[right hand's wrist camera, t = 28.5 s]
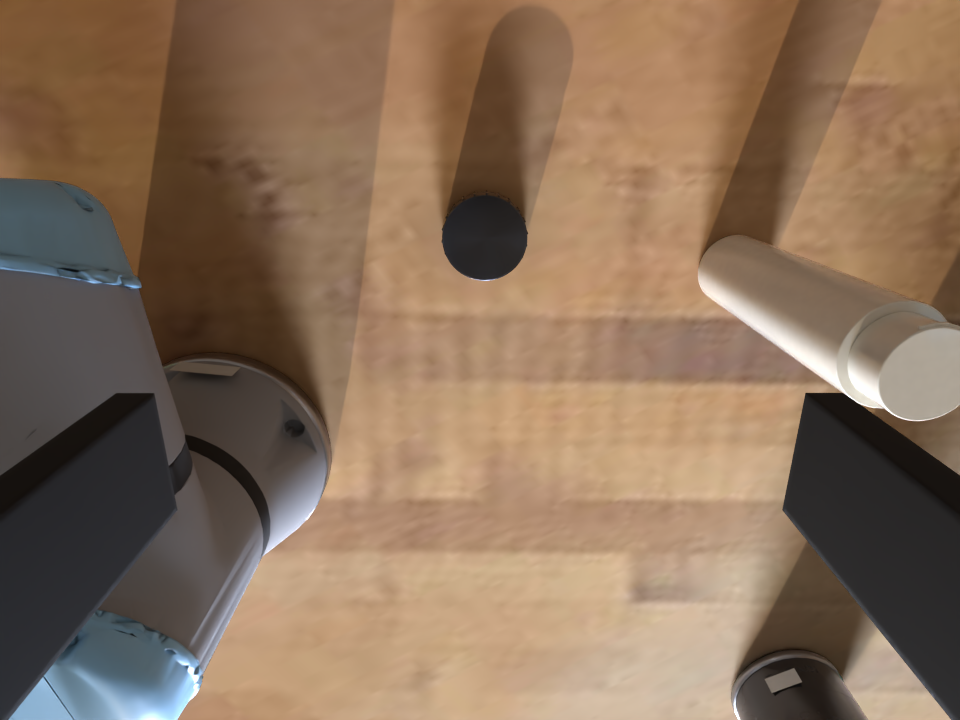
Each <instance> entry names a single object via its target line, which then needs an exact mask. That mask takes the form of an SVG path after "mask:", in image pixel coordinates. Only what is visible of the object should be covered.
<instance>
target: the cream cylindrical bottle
mask: <svg viewBox="0 0 960 720" xmlns="http://www.w3.org/2000/svg"><path fill="white" fill-rule="evenodd" d="M698 280H699V284H700V287H701V289H702V291H703V292H704V293H705V294H706V295H707V296H708V297H709V298H710V299H712V300H713V301H714V302H716V303H717V304H719V305H720V306H721V307H723V308H724V309H726V310H727V311H728V312H730V313H731V314H733V315H734V316H735V317H737V318H738V319H740V320H741V321H742V322H744V323H745V324H747V325H748V326H749V327H751V328H752V329H754V330H755V331H756V332H758V333H759V334H761V335H762V336H763V337H765V338H766V339H768V340H769V341H770V342H772V343H773V344H775V345H776V346H777V347H779V348H780V349H782V350H783V351H785V352H786V353H787V354H789V355H790V356H792V357H793V358H794V359H796V360H797V361H799V362H800V363H801V364H803V365H804V366H806V367H807V368H808V369H810V370H811V371H813V372H814V373H815V374H817V375H818V376H820V377H821V378H822V379H824V380H825V381H827V382H828V383H829V384H831V385H832V386H834V387H835V388H836V389H838V390H839V391H841V392H842V393H844V394H846V395H847V396H849V397H850V398H851V399H853V400H854V401H856V402H857V403H859V404H861V405H864V406H867V407H872V408H884V409H885V410H887V411H888V412H889V413H891V414H892V415H894V416H896V417H898V418H901V419H905V420H910V421H924V420H930V419H934V418H937V417H940V416H942V415H945V414H947V413H949V412H950V411H952V410H953V409H955V408H956V407H958V406H959V405H960V326H959V325H955V324H952V323H949V322H947V320H946V319H945V317H944V316H943V315H942V314H941V313H940V312H939V311H938V310H937V309H935V308H934V307H932V306H930V305H928V304H925V303H922V302H920V301H917V300H915V299H912V298H909V297H907V296H904V295H901V294H899V293H896V292H893V291H891V290H888V289H886V288H883V287H880V286H878V285H875V284H872V283H870V282H867V281H865V280H862V279H859V278H857V277H854V276H851V275H849V274H846V273H843V272H841V271H838V270H836V269H833V268H830V267H828V266H825V265H822V264H820V263H817V262H814V261H812V260H809V259H807V258H804V257H801V256H799V255H796V254H793V253H791V252H788V251H786V250H783V249H780V248H778V247H775V246H772V245H770V244H767V243H764V242H762V241H759V240H757V239H754V238H751V237H749V236H745V235H732V236H727V237H724V238H722V239H720V240H718V241H717V242H715V243H714V244H713V245H711V246H710V247H709V248H708V250H707V251H706V252H705V254H704V255H703V257H702V259H701V261H700V264H699V268H698Z"/></svg>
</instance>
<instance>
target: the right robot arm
mask: <svg viewBox="0 0 960 720" xmlns="http://www.w3.org/2000/svg"><path fill="white" fill-rule="evenodd" d="M139 288H142V287H141V282H140V280H139V278H138V277H137V276H135V275H133V272H132V270H131V267H130V265H129V262H128V260H127V257H126V255H125V252H124V250H123V247H122V245H121V242H120V240H119V237H118V235H117V232H116V229H115V227H114V224H113V221H112V219H111V216H110V215H109V213H108V211H107V210H106V208H105V207H104V205H103V204H102V203H101V202H100V201H99V200H98V199H97V198H95V197H94V196H93V195H91V194H90V193H88V192H87V191H85V190H83V189H81V188H79V187H77V186H74V185H71V184H67V183H63V182H57V181H49V180H33V179H11V178H0V720H177V719H178V717H179V715H180V714H181V712H182V711H183V709H184V708H185V706H186V704H187V703H188V701H189V700H191V699H192V698H193V697H194V696H195V695H196V694H197V692H198V690H199V688H200V686H201V683H202V679H203V676H202V675H203V673H204V671H205V669H206V667H207V665H208V663H209V661H210V659H211V657H212V655H213V653H214V651H215V649H216V647H217V645H218V643H219V641H220V639H221V637H222V635H223V633H224V631H225V629H226V627H227V625H228V623H229V621H230V619H231V617H232V615H233V613H234V611H235V609H236V607H237V605H238V604H239V602H240V600H241V598H242V596H243V594H244V592H245V590H246V588H247V586H248V584H249V582H250V580H251V578H252V576H253V574H254V572H255V570H256V568H257V566H258V564H259V562H260V560H261V558H262V556H264V555H265V554H266V553H267V552H269V551H270V550H271V549H272V548H274V547H275V546H276V545H278V544H279V543H280V542H281V541H283V540H284V539H285V538H286V537H288V536H289V535H290V534H292V533H293V532H294V531H295V530H297V529H298V528H299V527H300V526H301V525H302V524H303V523H304V522H305V520H306V519H307V518H308V517H309V516H310V515H311V513H312V512H313V511H314V509H315V508H316V506H317V504H318V502H319V500H320V498H321V496H322V494H323V491H324V489H325V487H326V484H327V481H328V478H329V474H330V470H331V445H330V440H329V435H328V432H327V429H326V426H325V424H324V421H323V419H322V417H321V415H320V413H319V412H318V410H317V408H316V407H315V405H314V404H313V403H312V401H311V400H310V399H309V397H308V396H307V395H306V394H305V393H304V392H303V391H302V390H301V389H300V388H299V387H298V386H297V385H296V384H295V383H294V382H292V381H291V380H290V379H289V378H287V377H286V376H284V375H283V374H281V373H280V372H278V371H277V370H275V369H273V368H271V367H270V366H268V365H265V364H263V363H261V362H259V361H256V360H253V359H250V358H247V357H243V356H239V355H233V354H227V353H200V354H193V355H188V356H184V357H181V358H178V359H175V360H173V361H170V362H168V363H166V364H164V365H163V366H162V363H161V360H160V357H159V354H158V351H157V348H156V344H155V341H154V338H153V335H152V331H151V328H150V325H149V321H148V318H147V315H146V311H145V308H144V305H143V302H142V298H141V295H140V292H139ZM783 511H784V512H785V514H786V515H787V516H788V517H789V519H790V520H791V521H792V522H793V524H794V525H795V526H796V527H797V529H798V530H799V531H800V532H801V534H802V535H803V536H804V537H805V539H806V540H807V541H808V542H809V544H810V545H811V546H812V547H813V548H814V550H815V551H816V552H817V553H818V555H819V556H820V557H821V558H822V560H823V561H824V562H825V563H826V565H827V566H828V567H829V568H830V570H831V571H832V572H833V573H834V575H835V576H836V577H837V578H838V580H839V581H840V582H841V583H842V584H843V586H844V587H845V588H846V589H847V591H848V592H849V593H850V594H851V596H852V597H853V598H854V599H855V601H856V602H857V603H858V604H859V606H860V607H861V608H862V609H863V611H864V612H865V613H866V614H867V616H868V617H869V618H870V619H871V620H872V622H873V623H874V624H875V625H876V627H877V628H878V629H879V630H880V632H881V633H882V634H883V635H884V637H885V638H886V639H887V640H888V642H889V643H890V644H891V645H892V647H893V648H894V649H895V650H896V652H897V653H898V654H899V655H900V656H901V658H902V659H903V660H904V661H905V663H906V664H907V665H908V666H909V668H910V669H911V670H912V671H913V673H914V674H915V675H916V676H917V678H918V679H919V680H920V681H921V683H922V684H923V685H924V686H925V688H926V689H927V690H928V691H929V692H930V694H931V695H932V696H933V697H934V699H935V700H936V701H937V702H938V704H939V705H940V706H941V707H942V709H943V710H944V711H945V712H946V714H947V715H948V716H949V717H950V719H951V720H960V475H958V474H957V473H955V472H954V471H953V470H951V469H950V468H948V467H947V466H946V465H944V464H943V463H941V462H940V461H939V460H937V459H936V458H934V457H933V456H932V455H930V454H929V453H927V452H926V451H925V450H923V449H922V448H920V447H919V446H917V445H916V444H915V443H913V442H912V441H910V440H909V439H908V438H906V437H905V436H903V435H902V434H901V433H899V432H898V431H896V430H895V429H894V428H892V427H891V426H889V425H888V424H887V423H885V422H884V421H882V420H881V419H879V418H878V417H877V416H875V415H874V414H872V413H871V412H870V411H868V410H867V409H865V408H864V407H863V406H861V405H860V404H858V403H857V402H856V401H854V400H853V399H851V398H850V397H849V396H847V395H846V394H844V393H806V394H805V399H804V404H803V409H802V414H801V419H800V424H799V429H798V434H797V439H796V444H795V449H794V454H793V459H792V465H791V470H790V475H789V480H788V485H787V490H786V495H785V500H784V505H783Z"/></svg>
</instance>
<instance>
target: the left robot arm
mask: <svg viewBox="0 0 960 720" xmlns="http://www.w3.org/2000/svg"><path fill="white" fill-rule="evenodd" d="M731 702H732V706H733V709H734V711H735V713H736V716H737V718H738V719H739V720H868V719H867V717H866V716H865V714H864V713H863V711H862V710H861V708H860V706H859V705H858V703H857V702H856V700H855V699H854V697H853V696H852V694H851V693H850V691H849V690H848V688H847V687H846V685H845V684H844V682H843V680H842V677H841V676H840V674H839V673H838V671H837V670H836V668H835V667H834V665H833V664H832V663H831V662H830V661H829V660H827V659H826V658H824V657H823V656H821V655H818V654H816V653H813V652H809V651H803V650H786V651H780V652H776V653H772V654H769V655H767V656H764V657H762V658H760V659H758V660H756V661H755V662H753V663H752V664H750V665H749V666H748V667H747V668H746V669H744V670H743V671H742V673H741V674H740V675H739V676H738V678H737V679H736V681H735V683H734V685H733V688H732V693H731Z"/></svg>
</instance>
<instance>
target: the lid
mask: <svg viewBox="0 0 960 720" xmlns="http://www.w3.org/2000/svg"><path fill="white" fill-rule="evenodd" d="M519 211H520V210H519V208H518V207H516V206H515V205H514V204H513V203H512V202H511V201H510V199H509V198H508V199H507V198H505V197H503V196H501V195H500V194H499V193H497V194H496V193H492V192H488V191H486V192H477V193H476V192H474V193H473V194H470V195H468V196H466V197H464V196H463V198H462V199H461V200H460V201H459V202H457V203H456V204H454V205H453V207H452V209H451V211H450V213H449V214H447V216H446V222H445V224H444V225H443V228H442V230H443V234H442V243H443V248H444V251H445V254H446V256H447V258H448V260H449V262H450V263H451V265H452V266H453V267H454V268H455V269H456V270H457V271H459V272H460V273H461V274H463V275H465V276H467V277H469V278H472V279H475V280H484V281H487V280H494V279H498V278H500V277H503V276H505V275H506V274H508V273H509V272H511V271H512V270H513V269H514V268H515V267H516V266H517V265H518V264H519V262H520V261H521V259H522V258H523V255H524V253H525V250H526V247H527V234H528V232H527V230H526V225H525V223H524V222H525V219H524V218H523V217H522V216H521V214H520V212H519Z"/></svg>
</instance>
